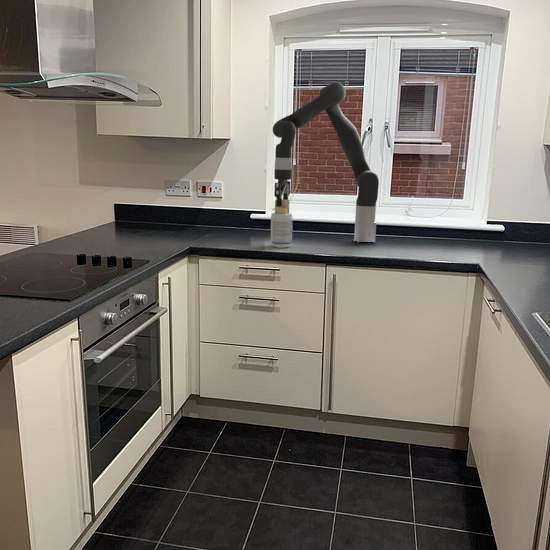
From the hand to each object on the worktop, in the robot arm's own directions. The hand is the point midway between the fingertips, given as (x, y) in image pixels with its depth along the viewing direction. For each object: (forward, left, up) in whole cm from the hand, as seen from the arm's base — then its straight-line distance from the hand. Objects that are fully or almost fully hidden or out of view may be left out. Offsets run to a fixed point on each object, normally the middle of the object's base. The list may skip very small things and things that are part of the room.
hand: (282, 205), depth 257 cm
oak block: (0, 0, -4) cm, 4 cm away
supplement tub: (0, 0, -18) cm, 18 cm away
